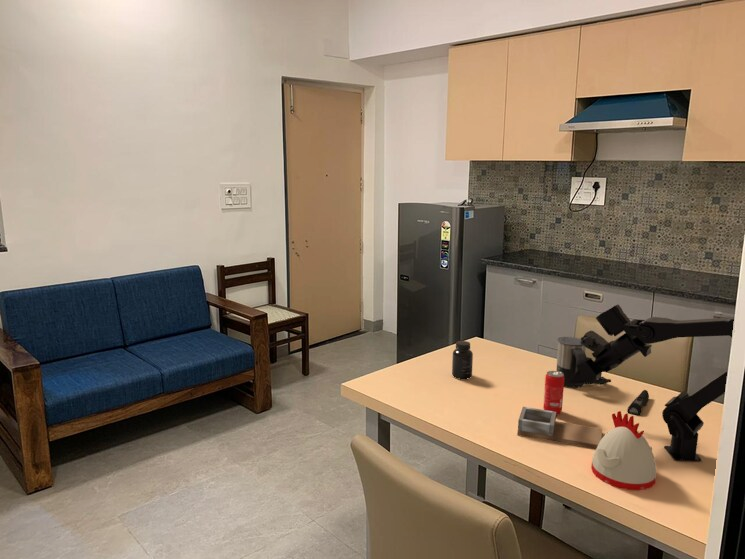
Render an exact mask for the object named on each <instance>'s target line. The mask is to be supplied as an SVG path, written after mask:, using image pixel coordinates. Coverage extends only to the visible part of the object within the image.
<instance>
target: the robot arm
mask: <svg viewBox="0 0 745 559" xmlns="http://www.w3.org/2000/svg"><path fill="white" fill-rule="evenodd" d="M595 320H596V321H597V322H598V323H599V325H600V326H601V327H602V328H603V330H604V331H605V333H606V334H607V335H608V336H610V337H612V336H614V337H617V336H618V335H620V334H622V333H623V332H624V334H622V335H620V336H618V338H616V339H614V340H611V341H610V342H609V341H608V340H606V339H605V338H604V337H602V335H600V334H598V333H597V332H595V331H593V330H588V331H587V332H585V334H583V336H581V337H580V338H581V341H580V343H581V344H582V345H583V346H585V347H586V349H588V350H589V351H591V352H592V353H591V356H592V357H593V358H594V360H593V359H592V358H591V357H587V356H586V358H584V359H582V360H580V361H579V362H577V363H576V366H577V368H578V370H577V372H576V373H575V374H574V375H573V376H572V377H571V379H570V380H569V382H570V384H577V383H592V382H594V381H596V380H597V379H599V378H600V377H602V375H603V374H602V373H604V372H605V373H608V372H609V371H610V372H611V371H612V370H613V369H615V368H617V367H619V366H620V365H622V364H623V363H624V362H626V361H627V360H628V359H630V358H632V357H633V356H635V355H637V354H638V353H641V354H642V355H643V357H648V356H649V355H650V354H652V344H655V343H661V342H664V341H668V340H672V339H676V338H697V337H699V338H700V337H703V338H704V337H725V336H728V337H729V336H730V337H731V338H732V330H733V321H734V316H732V317H719V318H717V317H716V318H701V319H700V318H699V319H698V318H697V319H684V320H681V319H680V320H677V319H672V318H667V317H658V316H651V317H648V318H646V319H632V320H630V318H629V316H627V314H626V313H625V312H624V310H623V309H622V307H621V305H620V304H616V305H614V306H613V307H612V306H611V308H609V309H607V310H606V311H603V312H601V313H600V314H599V315H597V316H596V317H595ZM727 370H728V369H726V370H725V371H723V372H722V373H720V374H719V375H718V376H716V377H715V378H713V379H712V380H710V381H709V382H708V383H706V384H705V385H702V387H700V388H699V389H697V390H696V391H694V392H693V391H692V392H691V393H688V392H687V391H686V389H683V390H682V391H681V392H680V393H679V394H678V395H677V396H673V397H672V398H670V399H669V400H668V401H666V403H665V404H664V407H665V408H664V409H663V410H662V412H661V413H662V419H663V421H664V422H665V424H666V425H667V429H668V433H669V435H670V436H671V438H670V445H664V446H663V449H664V450H665V451H666V452H667V453H668V454H669V455H670V456H671V458H672V459H673V460H674V461H684V462H686V461H687V462H702V458H701V457H700V455H698V453H697V448H698V441H699V440H698V439H699V433H698V432H699V431H700V430H701V429H702V428H703V426H704V424H705V423H704V421H703V419H701V417H700V416H699V415H698V413H699V412H700V411H701V410H702V409H703V408H704V407H705V406H707V405H709V404H711V403H712V402H714V401H715V400H717V399H718V398H720V397H721V396H722V395H724V394H725V393H724V392H725V384H726V376H727Z"/></svg>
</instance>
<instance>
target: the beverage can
mask: <svg viewBox="0 0 745 559" xmlns="http://www.w3.org/2000/svg"><path fill="white" fill-rule="evenodd" d="M543 394H544V395H543V410H548V411H554V412H556V417H557V416H559V415H561V413H562V411H563V400H564V374H563V373H561V372H558V371H557V370H549V371H546V374H545V380H544V392H543Z"/></svg>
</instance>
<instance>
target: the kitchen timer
mask: <svg viewBox="0 0 745 559" xmlns="http://www.w3.org/2000/svg"><path fill="white" fill-rule="evenodd" d="M611 417H612V421H613V424H614V428H612V429H610V430H609V431H608V432H606V433H605V435H604V436H602V439H601V441H600V442H599V444H598V446H597V448H596V449H595V451H594V454H593V457H592V460H591V471H592V473H593V474H594V476H595V477H596V478H597V479H599V480H600V481H601V482H604V483H605V484H607V485H609V486H611V487H615V488H618V489H621V490H622V489H623V490H627V491H643V490H644V491H645V490H649V489H650V488H652V487H653V486H654V485H655V484H656V478H657V467H656V466H657V465H656V460H655V457H654V453H653V447H652V446H651V445H649V443H648V441H647V439H646V438H645V436H643V434H644V433H645V430H641V431H638V429H639V427H640V422H637V423H636V424H635V420H634V417H635V416H634V415H631V416H629V414H628V412H626V413H625V414H624V415H623V416H622V411H621V410H619V411H617V413H611Z"/></svg>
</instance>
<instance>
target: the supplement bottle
mask: <svg viewBox="0 0 745 559" xmlns="http://www.w3.org/2000/svg"><path fill="white" fill-rule="evenodd" d="M470 349H471V342H470V341H466V340H458V341H456V342H455V349H454V350H453V352H452V358H451V359H452V362H451V363H452V365H451V376H452V375H453V376H454V377H456V378H460V379H459V380H461V379H465V380H468V379H467V378H469V379H471V378H472V376H473V360H474V357H473V356H474V354H473V351H472V350H470ZM453 376H452V377H453ZM454 377H453V378H454ZM470 377H471V378H470ZM456 378H455V379H456Z"/></svg>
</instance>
